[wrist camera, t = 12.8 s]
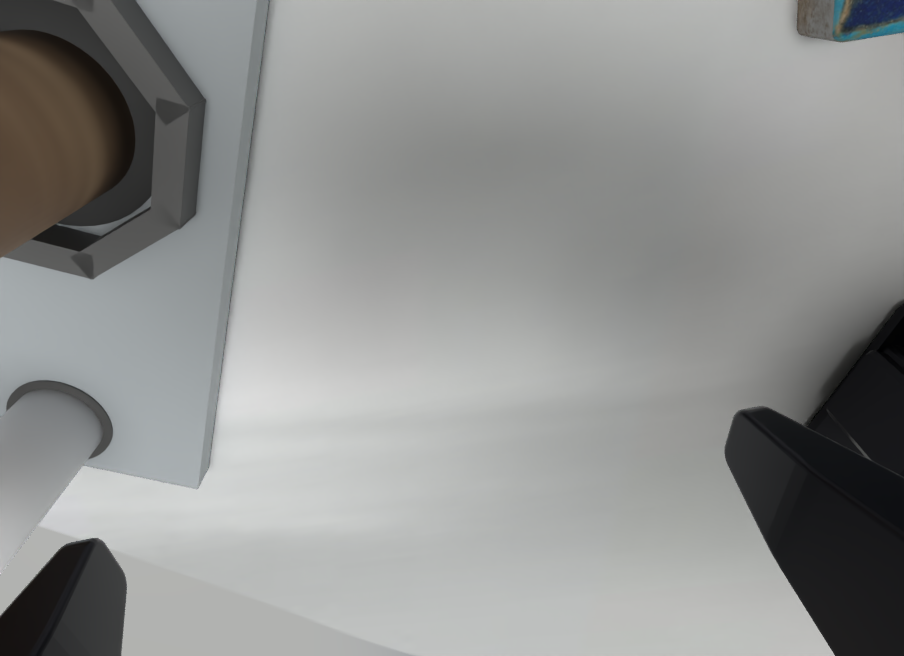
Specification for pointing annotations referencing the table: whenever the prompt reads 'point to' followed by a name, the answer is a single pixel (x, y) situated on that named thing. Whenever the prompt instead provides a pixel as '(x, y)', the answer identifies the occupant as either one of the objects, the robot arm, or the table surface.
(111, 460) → the plate
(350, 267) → the table surface
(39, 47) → the brown tall cylinder
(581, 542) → the table surface
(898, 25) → the decorative tile
